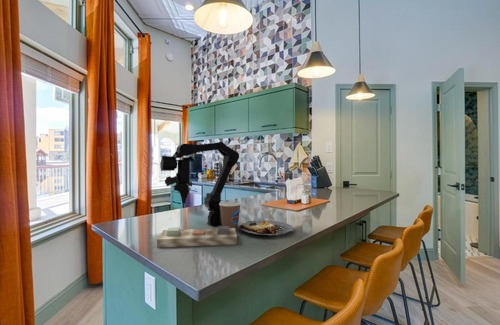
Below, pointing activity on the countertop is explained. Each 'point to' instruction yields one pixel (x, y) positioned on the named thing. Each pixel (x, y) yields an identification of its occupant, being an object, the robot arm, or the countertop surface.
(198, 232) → the terracotta key
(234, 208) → the coffee cup
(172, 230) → the sage green cube
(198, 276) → the countertop surface
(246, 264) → the countertop surface
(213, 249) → the countertop surface
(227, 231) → the charcoal key
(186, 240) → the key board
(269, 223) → the food plate
